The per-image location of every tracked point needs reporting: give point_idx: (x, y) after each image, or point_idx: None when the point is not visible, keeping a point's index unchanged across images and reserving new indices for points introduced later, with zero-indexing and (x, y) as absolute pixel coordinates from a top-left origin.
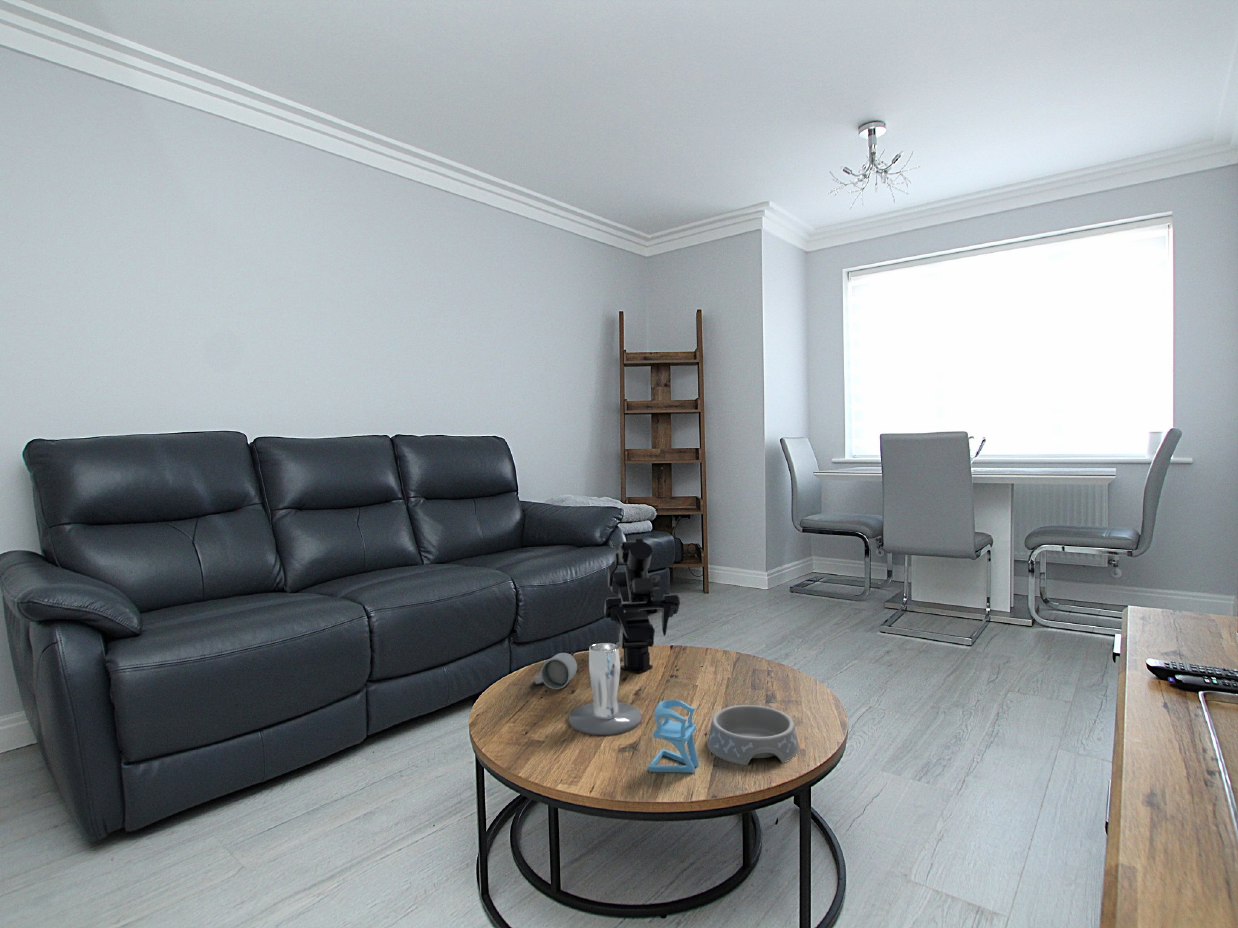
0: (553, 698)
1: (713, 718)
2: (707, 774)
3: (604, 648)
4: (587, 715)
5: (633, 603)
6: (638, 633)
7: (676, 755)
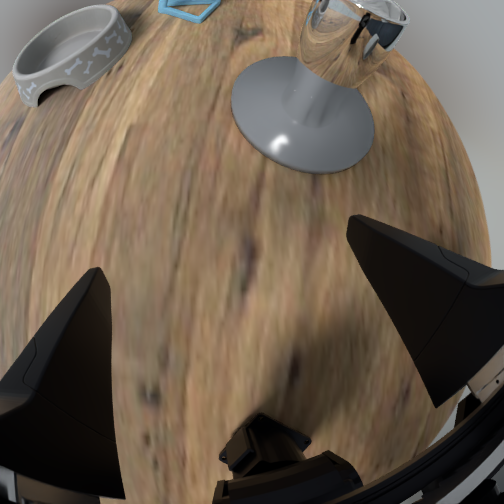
0: (424, 224)
1: (110, 24)
2: (153, 4)
3: (379, 29)
4: (341, 108)
5: (473, 462)
6: (282, 481)
7: (182, 11)
